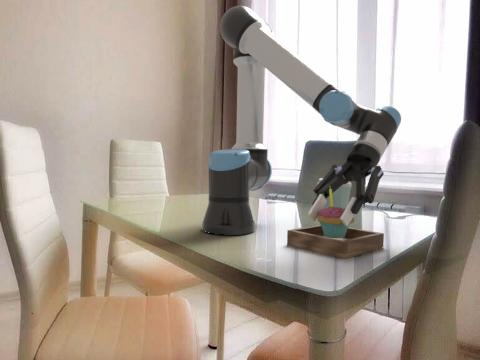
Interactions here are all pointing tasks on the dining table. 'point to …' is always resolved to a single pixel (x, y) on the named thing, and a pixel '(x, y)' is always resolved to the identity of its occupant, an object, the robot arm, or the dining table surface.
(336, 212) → the cupcake
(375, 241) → the wooden tray
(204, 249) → the dining table surface
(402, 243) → the dining table surface
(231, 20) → the robot arm
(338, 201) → the disposable coffee cup
